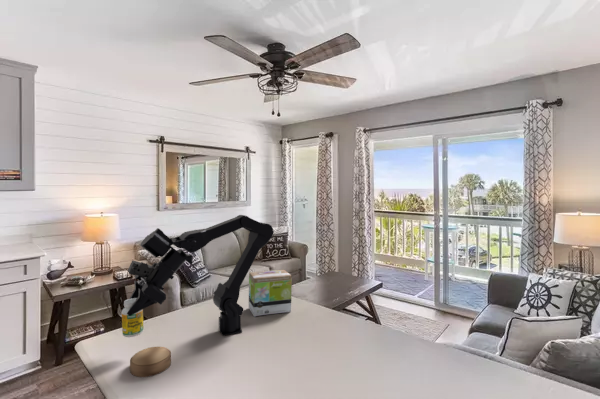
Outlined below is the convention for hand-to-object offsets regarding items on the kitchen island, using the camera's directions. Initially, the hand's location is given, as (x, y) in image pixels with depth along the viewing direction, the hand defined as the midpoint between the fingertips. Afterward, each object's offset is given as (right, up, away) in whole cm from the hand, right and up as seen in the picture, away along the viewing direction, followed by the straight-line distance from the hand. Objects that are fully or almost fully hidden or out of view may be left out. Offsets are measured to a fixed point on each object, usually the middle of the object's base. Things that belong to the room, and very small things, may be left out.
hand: (127, 311), depth 89 cm
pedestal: (+9, -13, -4) cm, 16 cm away
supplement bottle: (+1, -7, +1) cm, 7 cm away
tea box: (+37, -12, +36) cm, 53 cm away
